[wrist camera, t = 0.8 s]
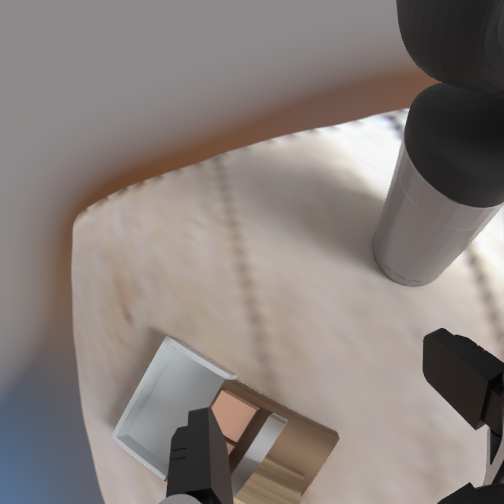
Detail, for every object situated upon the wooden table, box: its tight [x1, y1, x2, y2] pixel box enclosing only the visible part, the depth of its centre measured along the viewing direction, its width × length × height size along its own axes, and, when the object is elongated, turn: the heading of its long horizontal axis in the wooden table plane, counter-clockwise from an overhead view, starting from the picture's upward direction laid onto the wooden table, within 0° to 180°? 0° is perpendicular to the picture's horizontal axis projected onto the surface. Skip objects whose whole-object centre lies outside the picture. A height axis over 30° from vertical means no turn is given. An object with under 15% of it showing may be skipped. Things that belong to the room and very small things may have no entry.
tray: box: [110, 335, 237, 479], centre depth 31 cm, size 14×8×3 cm, turn 151°
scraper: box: [231, 413, 305, 504], centre depth 19 cm, size 12×6×12 cm, turn 151°
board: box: [164, 379, 339, 497], centre depth 27 cm, size 13×12×4 cm
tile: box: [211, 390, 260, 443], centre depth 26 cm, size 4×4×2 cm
